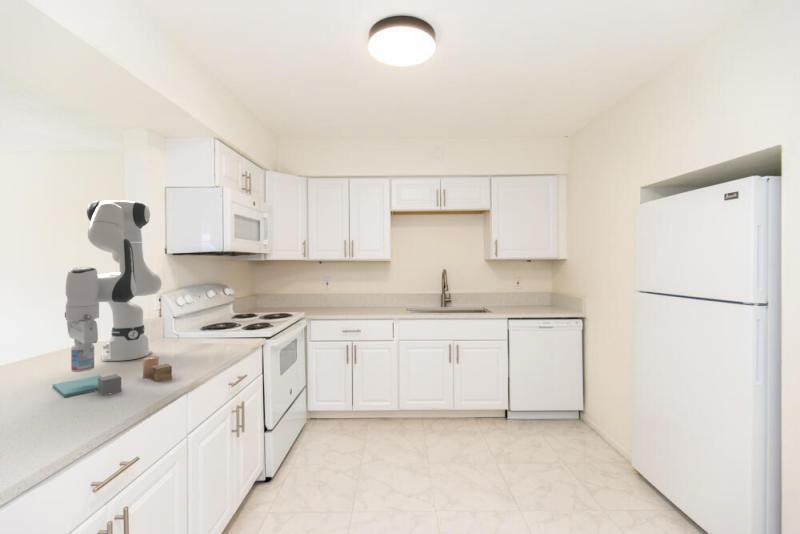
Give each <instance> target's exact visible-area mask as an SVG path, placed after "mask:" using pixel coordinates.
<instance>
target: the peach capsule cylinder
mask: <svg viewBox="0 0 800 534" xmlns="http://www.w3.org/2000/svg"><path fill="white" fill-rule="evenodd" d="M159 363H160V358H159V356H148V357H147V356H145V357H143V358H142V378H143V379H151V366H156V365H160V364H159Z"/></svg>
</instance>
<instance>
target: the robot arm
mask: <svg viewBox="0 0 800 534" xmlns="http://www.w3.org/2000/svg"><path fill="white" fill-rule="evenodd" d="M86 215H87V219H88V221H90V222H89V225H88V230H87V238H88V241H89V242H90V243H91V244H92V246H94V247H96V248H97V249H99V250H101V251H104V252H107V253H111V254H112V255H111V256H112V259H113V261H114V262H116V263H117V264H119V272H107V273H99V274H98V271H97V268H94V267H89V266H88V267H87V266H85V267H74V268H71V269H69V270H68V271H67V275H66V280H65V296H66V303H65V312H64V318H65V321H66V324H67V325H66V326H67V334H68V337H69V338H70V339H72V340H74V339H77V340H78V341H79V342H81V343H83V350H82V354H83V355H84V356H86V355H90V349H91V345H92V344H97V343H98V341H99V333H98V332H99V329H98V323H97V321H96V319H99V318H100V303H107V304H108V305H109V307H110V309H111V312H112V322H113V323H112V324H113V327H112V328H111V337H110V338H109V340H108V341H107V343H105V344H103V346H102V349H103V350H104V351H105V350H106V351H105V352H102V353H100V357H101V360H102V362H114V361H115V362H119V361H120V362H121V361H130V360H135V359H140V358H146V357H147V356H148V355H150V354H153V350H150V349H149V337H148V336H147V335H146V334H145V331H146V330H145V329H146V328H145V324H144V310H143V308H142V307H141V306H139V305H138V304H136V303H134V302H133V303H132V302H131V300H133V298H135V297H147V296H151V295H156V294H158V292H159V291H160V290H161V287H162V279H161V277H160V276H159V275H158V274H156V272H154V271H152V269H150V268H149V267H148V265H147V263H146V262H145V259H144V254H143V253H144V252H143V234H142V229H143V227H145V226H146V225H147V224H148V223H150V222H149V221H150V218H151V212H150V209H149V206H148V205H147V204H146V203H144V202H140V201H130V200H120V199H119V200H101V199H100V200H99V199H98V200H93V201H91V202H90V203H89V204H88V205H87V208H86Z"/></svg>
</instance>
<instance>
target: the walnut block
mask: <svg viewBox="0 0 800 534" xmlns="http://www.w3.org/2000/svg"><path fill="white" fill-rule="evenodd" d="M172 367H173V365H172V364H168V363H162V364H161V363H160V364H159V365H156V366H151V378H150V379H151V380H150V381H153V382H156V383H159V382H163V381H168V380H171V379H172V378H173V376H172V375H173V373H172V371H173V370H172Z"/></svg>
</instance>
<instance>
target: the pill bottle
mask: <svg viewBox="0 0 800 534" xmlns="http://www.w3.org/2000/svg"><path fill="white" fill-rule="evenodd" d="M73 343H74V344H73V345H72V346H71V351H70V356H71V357H70V359H71V362H70V364H71V367H70V368H71V372H73V373H80V372H81V373H82V372H87V371H91V370H93V369H94V368H95V344H94V343H92V345H91V349H90V355H86V356H84V355H83V354H82V350H83V343H81V342H79V341H78V340H77V339H73Z"/></svg>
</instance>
